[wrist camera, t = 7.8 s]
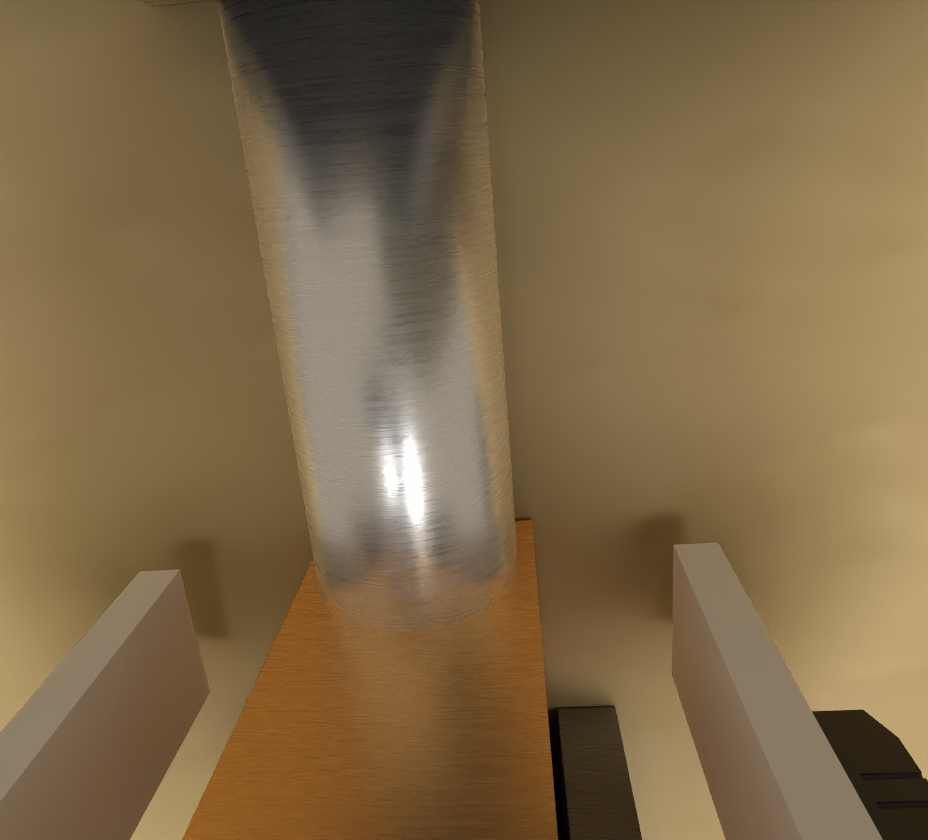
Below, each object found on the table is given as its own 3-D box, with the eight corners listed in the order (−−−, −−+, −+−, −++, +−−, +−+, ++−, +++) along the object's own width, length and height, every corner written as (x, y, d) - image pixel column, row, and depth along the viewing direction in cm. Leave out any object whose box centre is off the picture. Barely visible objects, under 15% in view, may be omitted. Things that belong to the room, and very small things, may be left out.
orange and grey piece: (232, -44, 11) (-1181, -1068, 2) (495, -74, 11) (459, -1475, 2) (383, 878, 18) (245, 1719, 8) (553, 874, 17) (615, 1744, 8)
